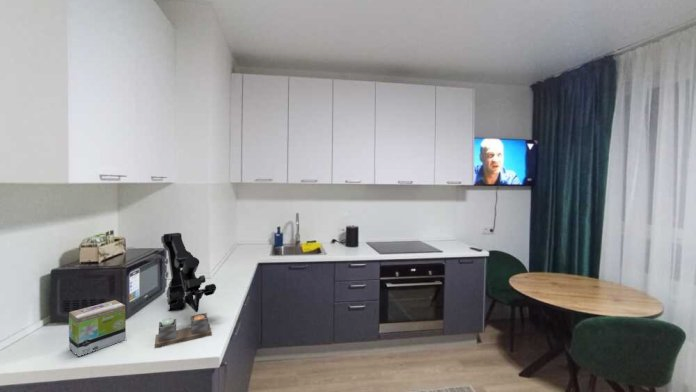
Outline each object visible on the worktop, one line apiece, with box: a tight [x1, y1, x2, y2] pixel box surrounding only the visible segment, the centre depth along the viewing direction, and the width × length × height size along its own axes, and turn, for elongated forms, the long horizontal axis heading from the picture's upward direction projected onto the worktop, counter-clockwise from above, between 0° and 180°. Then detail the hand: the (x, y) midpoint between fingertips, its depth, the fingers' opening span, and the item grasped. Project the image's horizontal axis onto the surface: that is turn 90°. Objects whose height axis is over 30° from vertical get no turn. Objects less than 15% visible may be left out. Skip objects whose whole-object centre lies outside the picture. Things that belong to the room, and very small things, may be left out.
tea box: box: [68, 299, 127, 357], centre depth 117 cm, size 15×10×15 cm
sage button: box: [160, 317, 175, 327], centre depth 120 cm, size 4×4×2 cm
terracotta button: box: [194, 314, 205, 320], centre depth 126 cm, size 4×4×2 cm
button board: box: [154, 312, 213, 349], centre depth 123 cm, size 20×8×7 cm, turn 121°
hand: (197, 311), depth 128 cm, fingers closed
